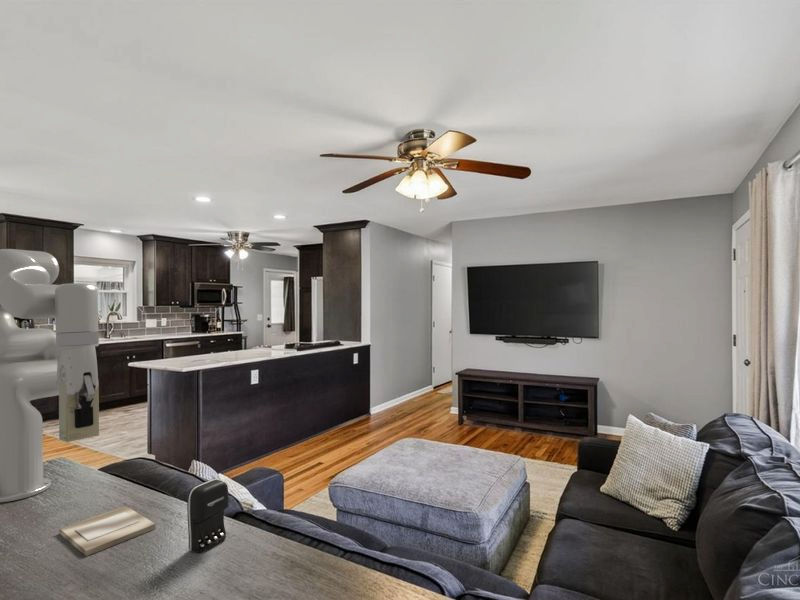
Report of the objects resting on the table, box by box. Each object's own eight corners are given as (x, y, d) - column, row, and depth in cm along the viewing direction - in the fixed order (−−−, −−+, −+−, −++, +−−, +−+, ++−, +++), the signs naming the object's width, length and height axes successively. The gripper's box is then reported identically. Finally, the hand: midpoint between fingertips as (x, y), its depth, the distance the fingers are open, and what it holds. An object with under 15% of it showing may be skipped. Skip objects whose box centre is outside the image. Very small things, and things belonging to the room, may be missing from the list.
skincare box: (66, 443, 92) (65, 384, 92) (58, 440, 95) (57, 382, 95) (100, 435, 97) (99, 379, 98) (92, 432, 100) (90, 378, 100)
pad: (59, 533, 88) (59, 527, 88) (125, 510, 98) (125, 504, 98) (86, 556, 80) (86, 549, 80) (155, 528, 90) (155, 522, 90)
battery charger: (200, 557, 79) (199, 492, 79) (186, 551, 81) (185, 488, 81) (232, 538, 85) (231, 479, 85) (219, 534, 87) (218, 475, 87)
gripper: (43, 341, 98) (45, 424, 98) (71, 342, 88) (73, 434, 88) (83, 338, 104) (85, 417, 104) (113, 339, 94) (115, 426, 94)
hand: (79, 424), depth 96 cm, fingers closed on skincare box, 4 cm apart
